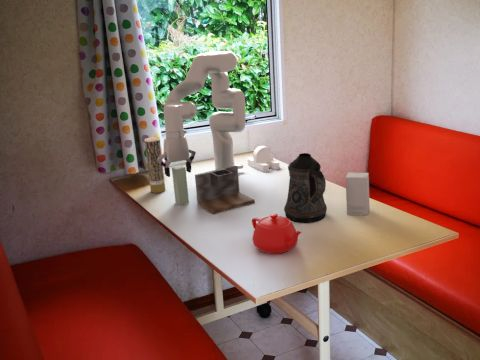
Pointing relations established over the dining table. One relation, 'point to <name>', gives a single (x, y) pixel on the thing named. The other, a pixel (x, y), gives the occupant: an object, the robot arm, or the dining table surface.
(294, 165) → the beer stein
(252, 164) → the white slotted holder
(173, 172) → the rail post
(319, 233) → the dining table surface
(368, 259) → the dining table surface
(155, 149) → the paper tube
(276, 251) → the teapot
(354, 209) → the skincare box
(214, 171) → the bracket stand
